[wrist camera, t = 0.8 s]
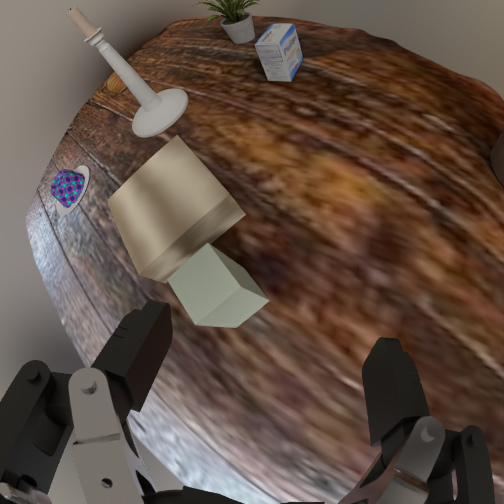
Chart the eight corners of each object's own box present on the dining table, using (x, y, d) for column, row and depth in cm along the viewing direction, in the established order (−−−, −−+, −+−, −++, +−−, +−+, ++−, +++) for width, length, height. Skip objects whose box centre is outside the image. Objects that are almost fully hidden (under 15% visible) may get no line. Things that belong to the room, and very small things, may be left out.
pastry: (136, 81, 56) (128, 72, 52) (116, 99, 56) (108, 90, 52) (127, 74, 59) (120, 66, 56) (109, 90, 60) (102, 82, 56)
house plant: (242, 61, 45) (212, -2, 30) (201, 54, 50) (171, 3, 35) (285, 31, 45) (265, -27, 30) (241, 25, 51) (219, -23, 36)
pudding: (53, 220, 49) (37, 212, 45) (67, 174, 53) (52, 164, 48) (83, 211, 46) (64, 201, 41) (97, 160, 49) (81, 148, 45)
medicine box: (291, 83, 39) (280, 43, 31) (267, 81, 41) (253, 44, 33) (303, 59, 41) (294, 22, 33) (281, 58, 42) (270, 23, 34)
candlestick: (137, 107, 50) (55, 20, 23) (187, 82, 48) (113, -23, 20) (131, 147, 46) (25, 50, 19) (189, 119, 43) (90, -7, 16)
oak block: (195, 157, 40) (177, 134, 35) (246, 215, 35) (229, 193, 29) (131, 216, 41) (107, 201, 36) (166, 284, 36) (139, 274, 30)
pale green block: (244, 268, 33) (207, 242, 24) (269, 300, 31) (240, 286, 22) (212, 294, 33) (166, 279, 24) (236, 327, 31) (195, 324, 22)
